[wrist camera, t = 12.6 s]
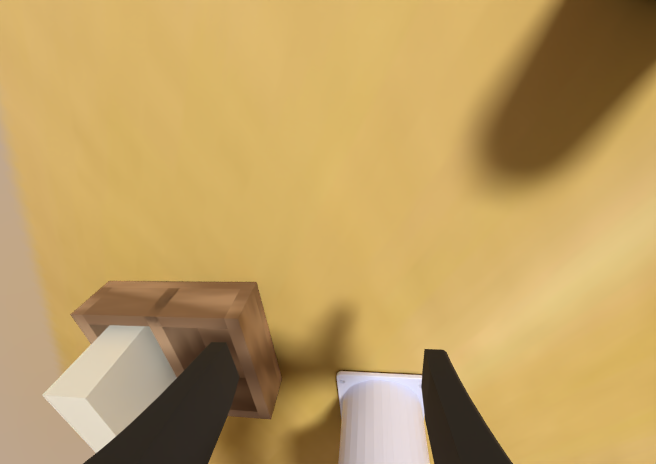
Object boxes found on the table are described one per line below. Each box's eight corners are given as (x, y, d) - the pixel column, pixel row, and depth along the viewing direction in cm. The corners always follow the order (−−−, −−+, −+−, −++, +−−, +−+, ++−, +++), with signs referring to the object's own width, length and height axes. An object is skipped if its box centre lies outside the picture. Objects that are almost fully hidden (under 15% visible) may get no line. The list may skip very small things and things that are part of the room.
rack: (282, 378, 29) (270, 419, 26) (160, 372, 31) (136, 408, 28) (256, 282, 23) (238, 318, 20) (108, 281, 25) (70, 314, 22)
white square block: (194, 366, 29) (139, 463, 22) (165, 364, 29) (102, 459, 22) (164, 303, 25) (85, 398, 18) (131, 302, 25) (42, 395, 18)
